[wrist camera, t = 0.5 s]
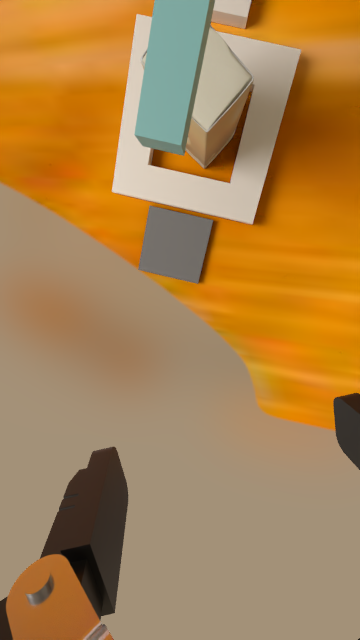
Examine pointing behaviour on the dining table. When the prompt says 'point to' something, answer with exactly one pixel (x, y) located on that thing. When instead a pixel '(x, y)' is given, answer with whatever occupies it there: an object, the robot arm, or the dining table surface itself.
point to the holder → (256, 141)
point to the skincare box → (216, 100)
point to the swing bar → (172, 72)
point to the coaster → (174, 244)
